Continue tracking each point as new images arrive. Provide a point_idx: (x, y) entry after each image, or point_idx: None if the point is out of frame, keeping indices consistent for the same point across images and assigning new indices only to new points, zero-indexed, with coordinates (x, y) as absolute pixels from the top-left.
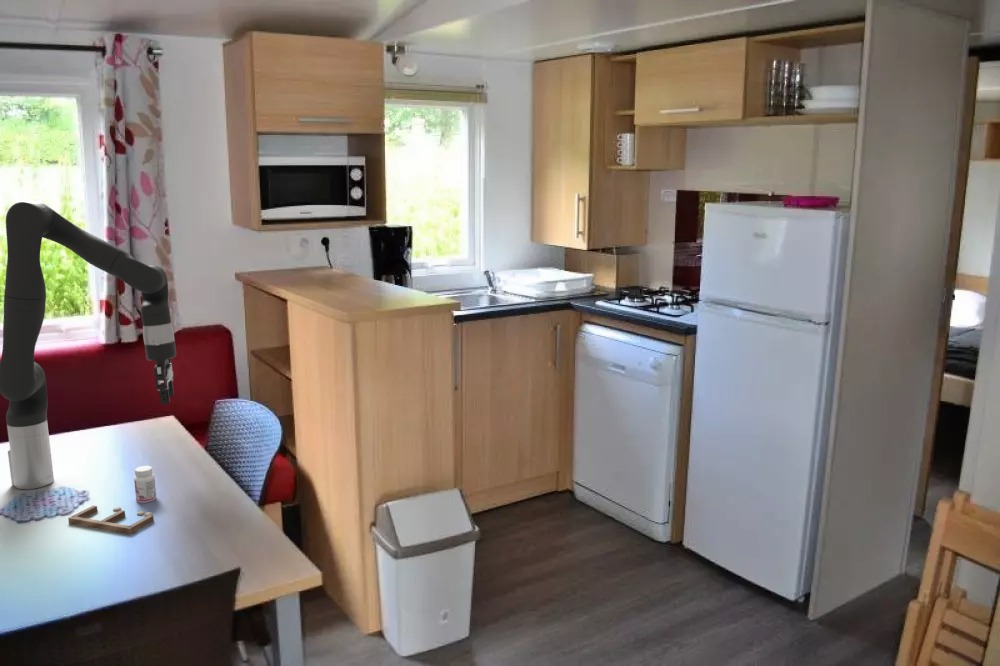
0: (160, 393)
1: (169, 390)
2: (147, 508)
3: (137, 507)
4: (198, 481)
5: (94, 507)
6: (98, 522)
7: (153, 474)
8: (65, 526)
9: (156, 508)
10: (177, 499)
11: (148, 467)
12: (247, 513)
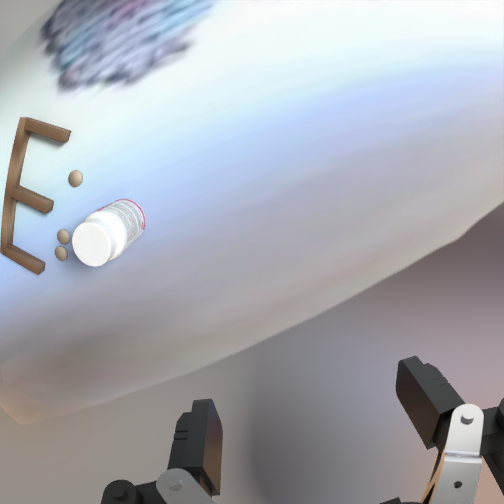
0: (170, 459)
1: (411, 402)
2: None
3: None
4: (234, 303)
5: (56, 139)
6: (7, 187)
7: (113, 258)
8: None
9: None
10: (132, 285)
11: (98, 256)
12: (101, 393)
